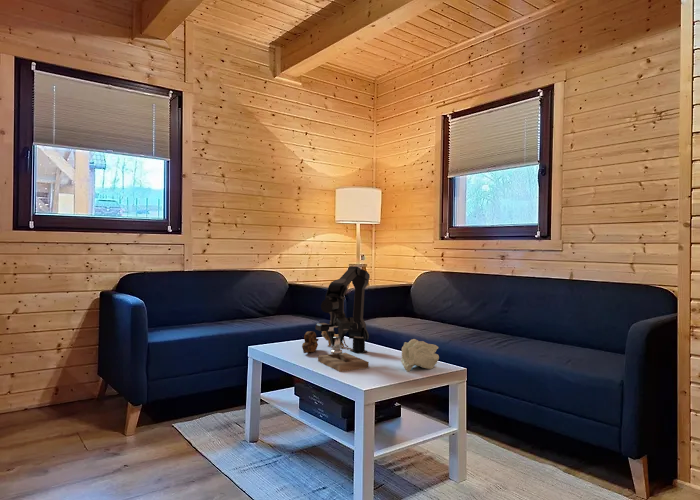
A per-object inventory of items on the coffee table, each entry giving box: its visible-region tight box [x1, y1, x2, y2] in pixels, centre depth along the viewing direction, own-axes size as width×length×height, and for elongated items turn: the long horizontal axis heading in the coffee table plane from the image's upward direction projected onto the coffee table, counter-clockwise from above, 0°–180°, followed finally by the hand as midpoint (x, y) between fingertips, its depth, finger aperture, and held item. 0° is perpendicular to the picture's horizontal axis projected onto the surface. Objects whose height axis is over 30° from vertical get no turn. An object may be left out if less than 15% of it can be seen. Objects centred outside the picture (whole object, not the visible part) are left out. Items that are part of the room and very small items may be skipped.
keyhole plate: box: [317, 352, 370, 373], centre depth 210 cm, size 20×14×3 cm
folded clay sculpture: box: [400, 338, 440, 372], centre depth 206 cm, size 18×13×16 cm
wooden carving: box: [301, 330, 319, 354], centre depth 233 cm, size 16×5×10 cm, turn 168°
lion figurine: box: [321, 331, 349, 349], centre depth 248 cm, size 15×5×9 cm, turn 71°
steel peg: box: [330, 337, 343, 354], centre depth 215 cm, size 5×5×7 cm
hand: (336, 345), depth 215 cm, fingers closed on steel peg, 3 cm apart
